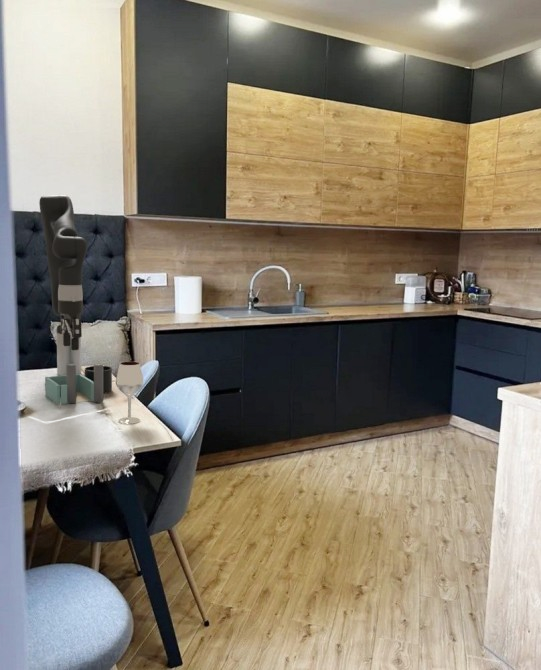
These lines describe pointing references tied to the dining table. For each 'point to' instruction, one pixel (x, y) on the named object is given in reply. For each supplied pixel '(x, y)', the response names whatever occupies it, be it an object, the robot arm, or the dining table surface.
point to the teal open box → (55, 381)
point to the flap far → (97, 384)
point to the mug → (106, 377)
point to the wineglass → (129, 385)
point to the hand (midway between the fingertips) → (70, 348)
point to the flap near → (69, 385)
